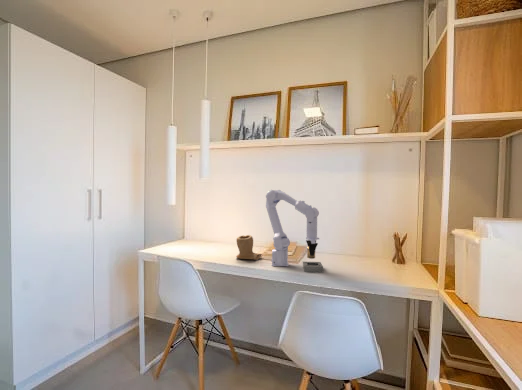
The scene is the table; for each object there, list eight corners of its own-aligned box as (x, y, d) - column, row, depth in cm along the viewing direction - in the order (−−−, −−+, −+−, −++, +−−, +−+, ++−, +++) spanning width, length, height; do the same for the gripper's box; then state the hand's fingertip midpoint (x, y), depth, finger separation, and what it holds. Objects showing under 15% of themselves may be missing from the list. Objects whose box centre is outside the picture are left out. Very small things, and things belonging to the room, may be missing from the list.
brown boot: (232, 260, 175) (233, 236, 174) (240, 256, 186) (240, 233, 186) (255, 262, 170) (256, 237, 170) (262, 258, 181) (262, 234, 181)
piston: (307, 258, 153) (307, 247, 153) (306, 256, 158) (306, 246, 158) (316, 258, 154) (316, 247, 154) (314, 256, 158) (314, 246, 158)
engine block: (304, 271, 152) (304, 266, 152) (302, 266, 162) (302, 261, 162) (323, 272, 151) (323, 266, 151) (320, 267, 161) (320, 261, 161)
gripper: (321, 231, 148) (320, 257, 148) (317, 228, 163) (317, 251, 163) (307, 231, 149) (307, 257, 149) (305, 227, 163) (304, 251, 163)
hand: (311, 254), depth 156 cm, fingers closed on piston, 4 cm apart
